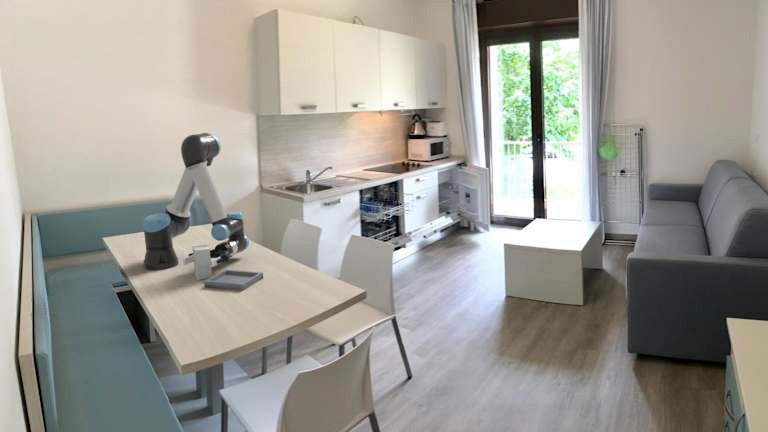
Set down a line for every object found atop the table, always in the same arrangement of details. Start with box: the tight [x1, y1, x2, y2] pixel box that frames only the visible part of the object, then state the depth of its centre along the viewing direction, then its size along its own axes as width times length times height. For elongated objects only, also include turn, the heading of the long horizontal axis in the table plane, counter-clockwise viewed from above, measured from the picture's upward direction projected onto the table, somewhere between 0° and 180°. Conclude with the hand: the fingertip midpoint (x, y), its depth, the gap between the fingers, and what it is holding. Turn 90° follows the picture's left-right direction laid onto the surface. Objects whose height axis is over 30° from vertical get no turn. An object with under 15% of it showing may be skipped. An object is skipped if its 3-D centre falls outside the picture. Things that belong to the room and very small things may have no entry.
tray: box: [204, 269, 264, 291], centre depth 232 cm, size 18×16×2 cm
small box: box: [192, 244, 213, 281], centre depth 240 cm, size 8×6×13 cm
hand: (197, 263), depth 237 cm, fingers open, 13 cm apart
